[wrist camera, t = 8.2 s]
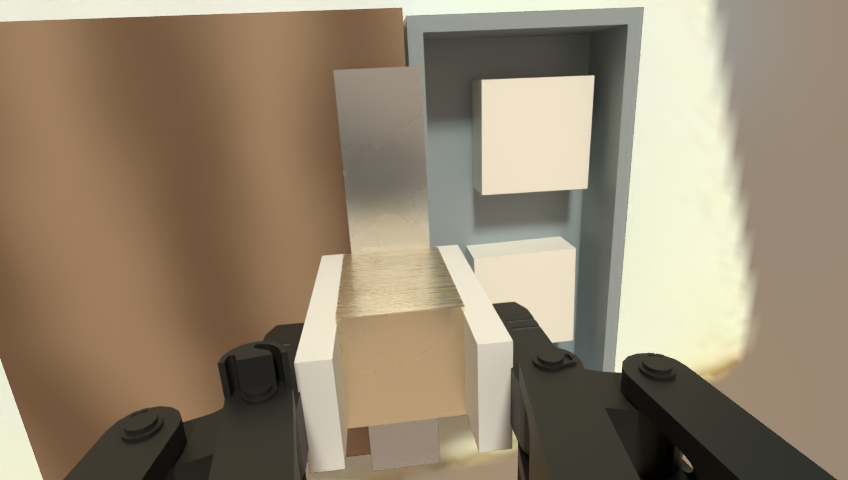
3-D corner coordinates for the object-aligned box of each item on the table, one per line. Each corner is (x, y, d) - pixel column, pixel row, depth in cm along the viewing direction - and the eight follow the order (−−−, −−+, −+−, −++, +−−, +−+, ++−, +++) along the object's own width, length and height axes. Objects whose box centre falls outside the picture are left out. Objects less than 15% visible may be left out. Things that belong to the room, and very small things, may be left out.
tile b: (587, 188, 23) (570, 180, 25) (594, 75, 21) (575, 76, 23) (481, 195, 22) (472, 186, 24) (481, 79, 21) (472, 80, 23)
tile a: (573, 340, 25) (558, 322, 27) (575, 248, 23) (560, 236, 25) (477, 351, 25) (469, 332, 26) (474, 258, 23) (465, 245, 25)
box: (419, 372, 28) (428, 417, 24) (399, 28, 22) (406, 15, 18) (579, 355, 28) (612, 397, 25) (598, 20, 23) (643, 7, 19)
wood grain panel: (117, 403, 26) (47, 492, 20) (16, 43, 21) (-118, 26, 15) (414, 373, 28) (426, 447, 22) (393, 28, 22) (402, 7, 16)
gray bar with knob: (366, 427, 20) (366, 591, 14) (330, 73, 16) (306, 62, 9) (436, 418, 21) (471, 576, 14) (420, 68, 16) (458, 56, 10)
